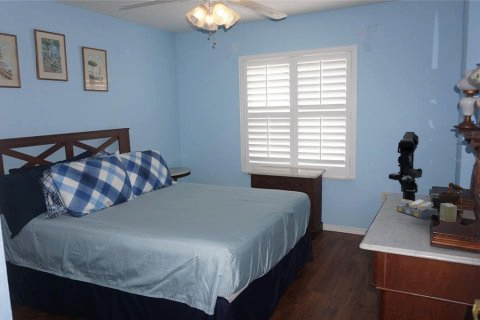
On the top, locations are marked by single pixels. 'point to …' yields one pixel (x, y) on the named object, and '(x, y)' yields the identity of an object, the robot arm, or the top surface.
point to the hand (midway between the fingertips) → (404, 190)
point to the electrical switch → (436, 201)
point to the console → (416, 211)
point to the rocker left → (407, 201)
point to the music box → (452, 198)
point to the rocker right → (424, 206)
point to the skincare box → (448, 212)
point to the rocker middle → (416, 203)
